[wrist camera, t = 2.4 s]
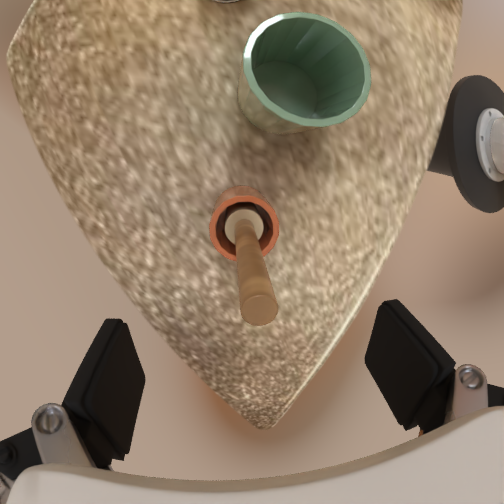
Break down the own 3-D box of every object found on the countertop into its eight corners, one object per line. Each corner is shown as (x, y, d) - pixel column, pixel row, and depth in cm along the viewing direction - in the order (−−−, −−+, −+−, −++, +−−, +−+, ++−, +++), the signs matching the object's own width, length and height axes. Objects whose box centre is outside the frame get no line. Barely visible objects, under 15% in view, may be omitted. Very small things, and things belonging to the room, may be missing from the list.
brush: (257, 197, 27) (299, 275, 11) (257, 228, 28) (294, 337, 12) (224, 198, 26) (218, 279, 11) (226, 230, 28) (224, 342, 12)
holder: (268, 184, 27) (279, 194, 21) (268, 237, 29) (278, 260, 23) (212, 186, 26) (207, 197, 21) (215, 240, 28) (212, 263, 23)
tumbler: (317, 62, 22) (365, 24, 12) (320, 135, 25) (373, 132, 15) (237, 58, 22) (242, 8, 11) (238, 134, 25) (244, 124, 14)
